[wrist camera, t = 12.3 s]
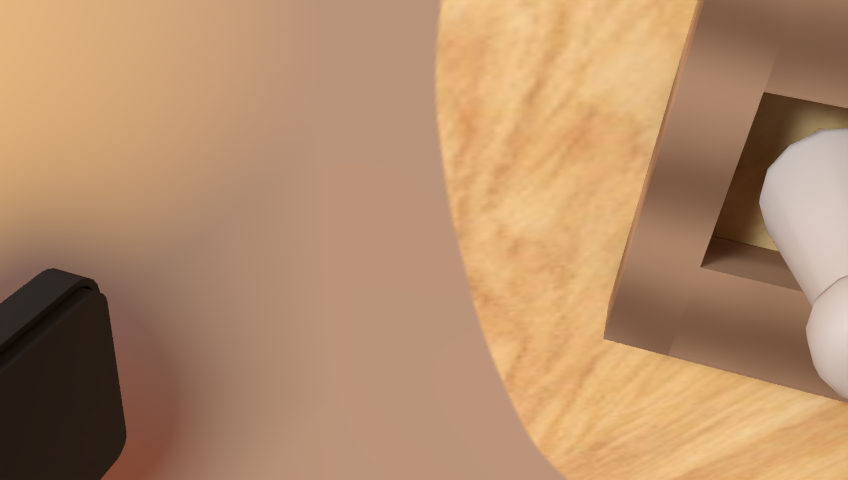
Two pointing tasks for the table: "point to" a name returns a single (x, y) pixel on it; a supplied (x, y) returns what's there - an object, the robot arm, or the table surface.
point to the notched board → (706, 190)
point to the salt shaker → (815, 240)
